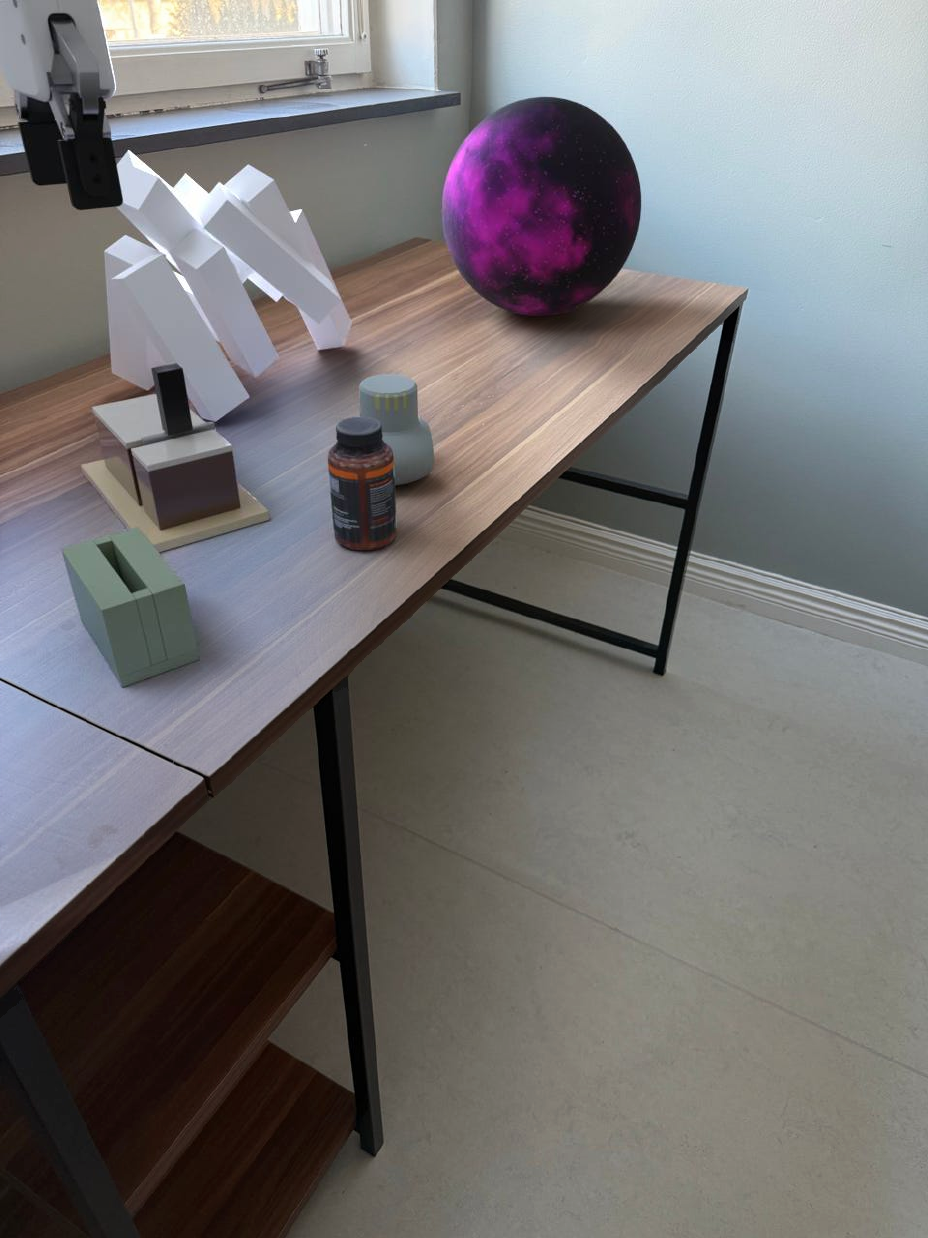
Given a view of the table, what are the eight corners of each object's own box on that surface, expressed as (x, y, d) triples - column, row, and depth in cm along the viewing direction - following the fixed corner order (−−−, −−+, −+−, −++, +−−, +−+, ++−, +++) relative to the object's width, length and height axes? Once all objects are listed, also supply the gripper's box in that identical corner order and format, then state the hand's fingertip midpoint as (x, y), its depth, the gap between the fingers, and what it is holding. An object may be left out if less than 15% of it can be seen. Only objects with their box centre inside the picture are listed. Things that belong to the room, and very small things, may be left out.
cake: (148, 555, 80) (132, 480, 76) (82, 473, 93) (65, 404, 89) (270, 519, 86) (261, 447, 82) (192, 446, 99) (180, 381, 95)
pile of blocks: (236, 358, 138) (76, 139, 114) (404, 297, 126) (266, 39, 102) (163, 516, 116) (-53, 287, 92) (357, 460, 105) (169, 182, 81)
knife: (220, 484, 90) (200, 358, 82) (226, 490, 89) (207, 363, 81) (152, 502, 86) (125, 372, 79) (158, 508, 85) (131, 377, 78)
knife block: (200, 659, 68) (185, 583, 64) (122, 688, 65) (101, 610, 61) (154, 598, 75) (138, 526, 71) (81, 622, 72) (60, 548, 68)
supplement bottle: (406, 528, 85) (404, 416, 79) (382, 558, 81) (377, 443, 74) (350, 517, 87) (343, 407, 80) (322, 546, 82) (312, 432, 75)
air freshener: (436, 495, 91) (437, 401, 85) (356, 500, 90) (350, 406, 84) (422, 450, 100) (421, 362, 94) (348, 454, 98) (343, 366, 92)
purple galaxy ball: (420, 331, 133) (418, 102, 116) (463, 280, 157) (467, 83, 140) (619, 350, 128) (649, 113, 111) (633, 294, 152) (659, 92, 135)
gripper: (120, -134, 47) (175, 211, 57) (35, -114, 59) (93, 171, 69) (-31, -146, 44) (55, 224, 54) (-91, -123, 55) (-11, 179, 65)
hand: (76, 194), depth 61 cm, fingers open, 9 cm apart
